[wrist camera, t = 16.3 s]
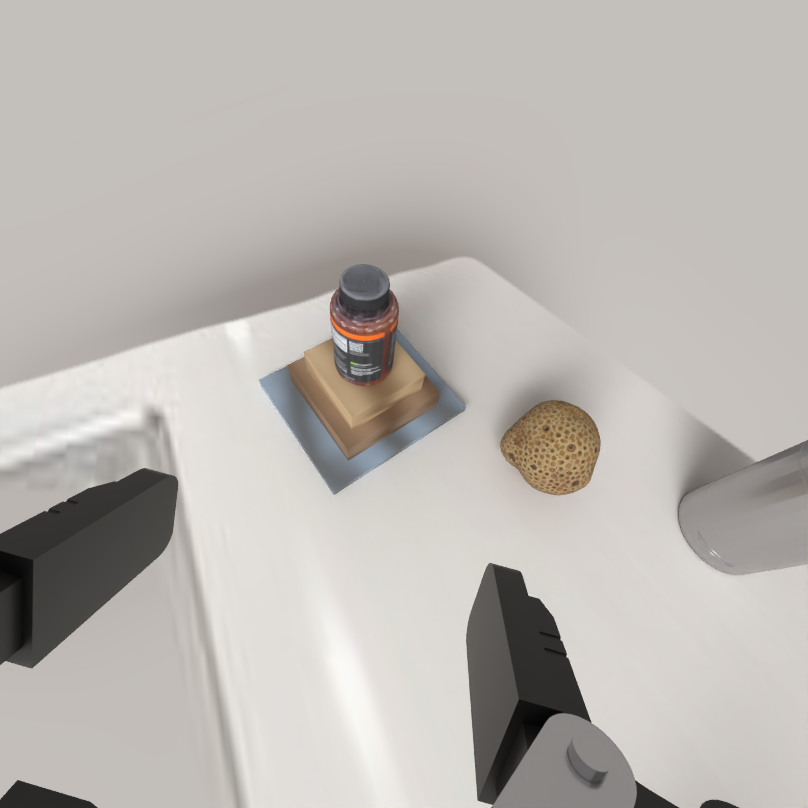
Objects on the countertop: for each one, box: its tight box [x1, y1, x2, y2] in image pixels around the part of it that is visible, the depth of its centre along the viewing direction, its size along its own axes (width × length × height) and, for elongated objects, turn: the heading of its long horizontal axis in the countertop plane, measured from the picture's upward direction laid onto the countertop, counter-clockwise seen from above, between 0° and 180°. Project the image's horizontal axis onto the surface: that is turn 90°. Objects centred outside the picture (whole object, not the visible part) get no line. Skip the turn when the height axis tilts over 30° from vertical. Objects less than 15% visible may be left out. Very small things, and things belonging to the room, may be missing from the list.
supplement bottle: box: [330, 264, 399, 386], centre depth 37 cm, size 6×6×11 cm
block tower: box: [259, 330, 466, 495], centre depth 45 cm, size 18×16×7 cm
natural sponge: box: [500, 400, 600, 495], centre depth 41 cm, size 9×9×10 cm
